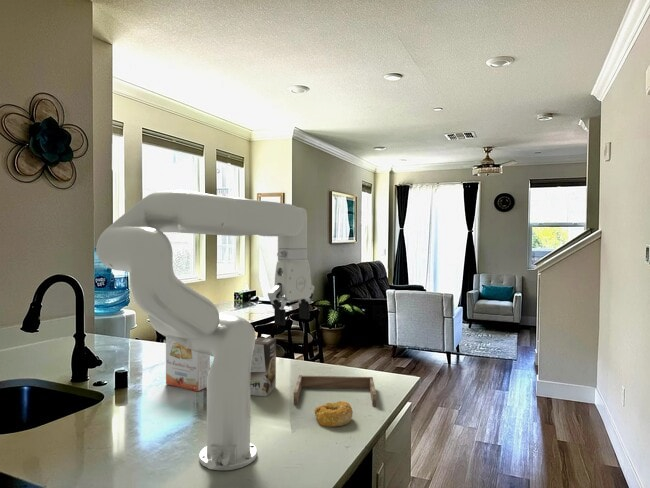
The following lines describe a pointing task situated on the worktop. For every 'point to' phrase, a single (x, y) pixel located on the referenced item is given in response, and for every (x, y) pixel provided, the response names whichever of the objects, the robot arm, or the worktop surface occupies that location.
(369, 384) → the box
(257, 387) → the coffee box
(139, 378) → the worktop surface
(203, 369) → the cracker box
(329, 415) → the bagel
